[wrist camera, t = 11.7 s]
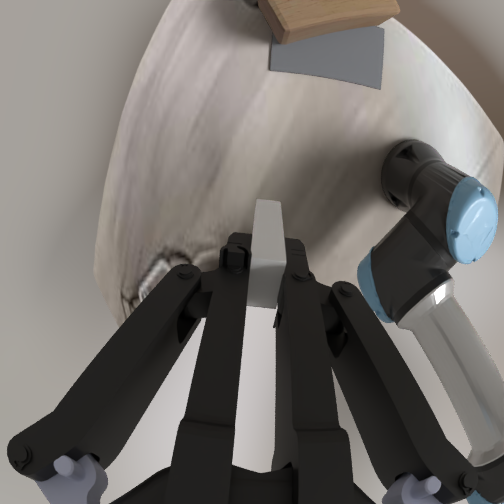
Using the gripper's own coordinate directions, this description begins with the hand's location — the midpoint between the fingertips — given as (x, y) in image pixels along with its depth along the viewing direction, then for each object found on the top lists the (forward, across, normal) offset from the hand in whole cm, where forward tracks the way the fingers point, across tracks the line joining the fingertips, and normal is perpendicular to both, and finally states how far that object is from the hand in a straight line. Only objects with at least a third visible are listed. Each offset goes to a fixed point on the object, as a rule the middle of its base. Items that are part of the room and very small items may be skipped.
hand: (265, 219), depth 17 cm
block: (+28, +2, -22) cm, 35 cm away
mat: (+33, -9, -20) cm, 40 cm away
